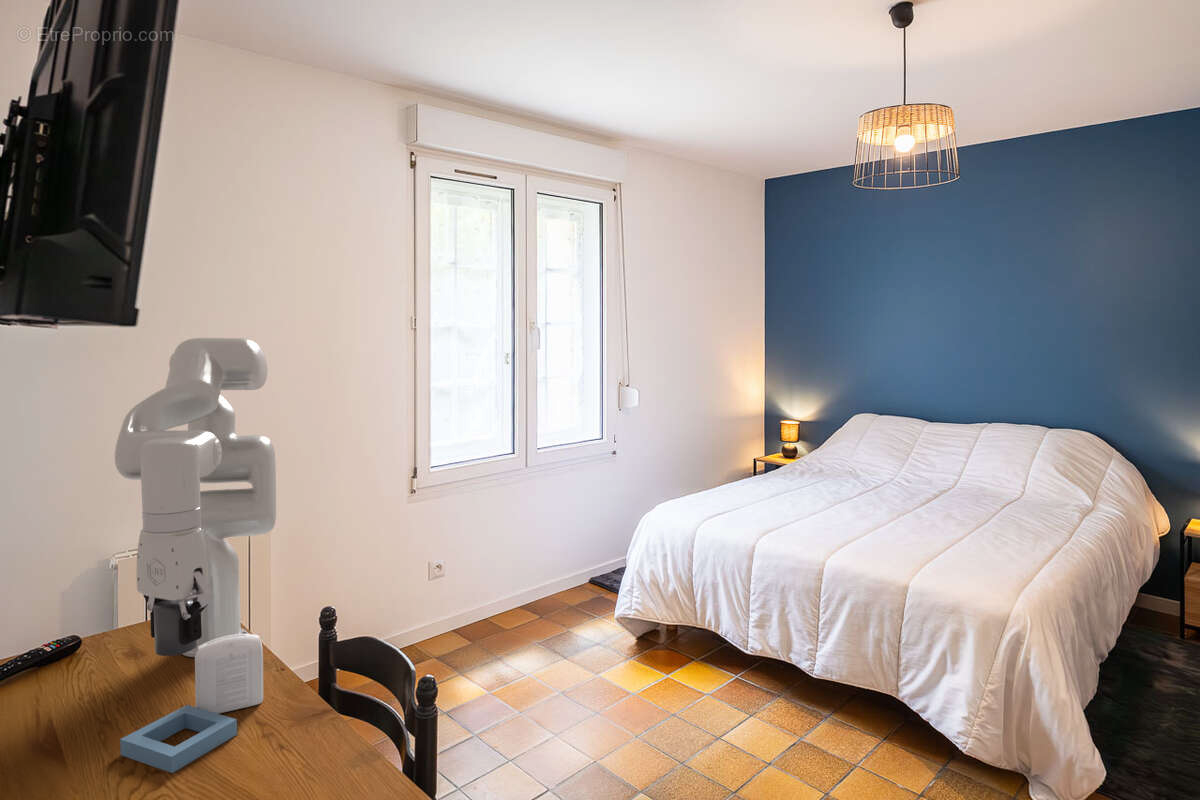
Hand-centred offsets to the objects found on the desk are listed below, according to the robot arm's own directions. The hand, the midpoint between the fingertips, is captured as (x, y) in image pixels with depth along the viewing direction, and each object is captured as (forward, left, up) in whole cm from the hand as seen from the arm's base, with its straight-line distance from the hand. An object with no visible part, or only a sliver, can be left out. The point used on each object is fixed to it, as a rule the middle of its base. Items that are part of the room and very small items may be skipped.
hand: (176, 636), depth 109 cm
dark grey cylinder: (0, 0, -2) cm, 2 cm away
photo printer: (-3, +11, -17) cm, 21 cm away
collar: (0, 0, -17) cm, 17 cm away
